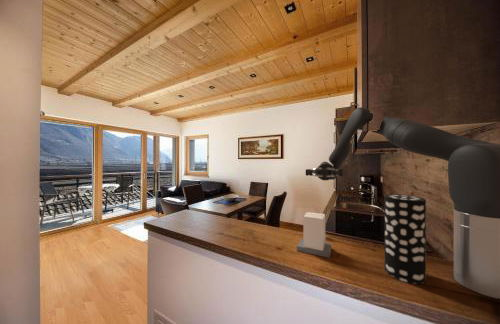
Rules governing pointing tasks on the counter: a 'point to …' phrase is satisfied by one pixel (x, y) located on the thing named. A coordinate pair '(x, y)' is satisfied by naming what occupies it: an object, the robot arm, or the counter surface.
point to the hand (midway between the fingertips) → (322, 173)
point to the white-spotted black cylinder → (405, 238)
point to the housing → (314, 230)
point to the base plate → (324, 253)
